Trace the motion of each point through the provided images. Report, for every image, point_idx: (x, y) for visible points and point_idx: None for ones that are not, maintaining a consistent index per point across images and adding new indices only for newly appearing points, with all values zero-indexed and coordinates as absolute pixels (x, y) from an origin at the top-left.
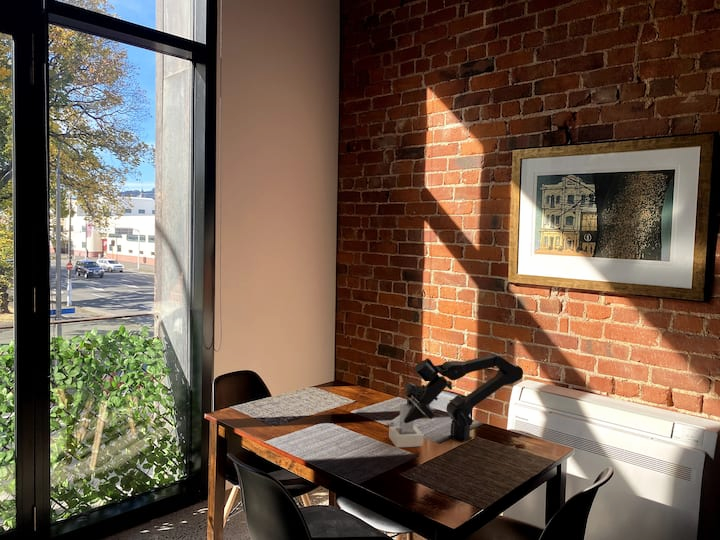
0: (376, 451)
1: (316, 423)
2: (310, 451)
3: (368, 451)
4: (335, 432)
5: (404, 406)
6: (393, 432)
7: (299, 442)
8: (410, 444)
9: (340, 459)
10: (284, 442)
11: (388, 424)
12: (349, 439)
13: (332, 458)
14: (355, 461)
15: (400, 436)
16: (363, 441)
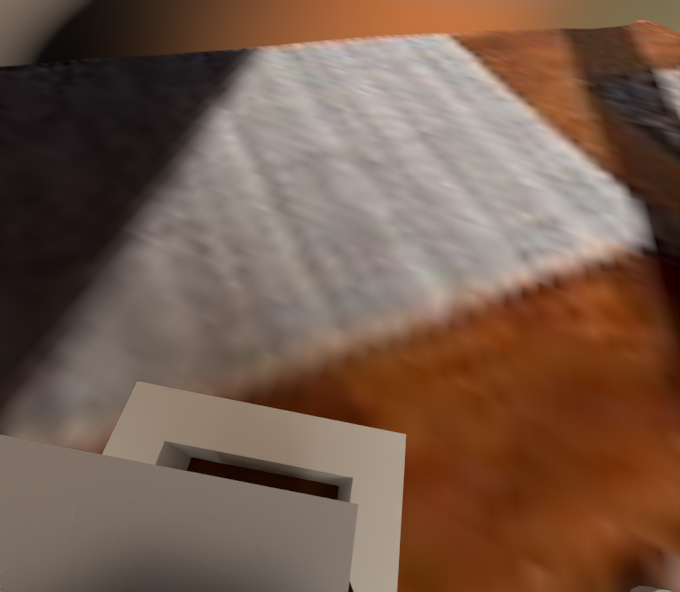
0: (188, 262)
1: (626, 186)
2: (321, 77)
3: (212, 229)
4: (508, 205)
5: (56, 557)
6: (257, 405)
7: (415, 83)
8: None
9: (196, 112)
10: (425, 58)
11: (658, 588)
12: (404, 220)
13: (222, 98)
14: (139, 141)
15: (120, 417)
16: (358, 265)
